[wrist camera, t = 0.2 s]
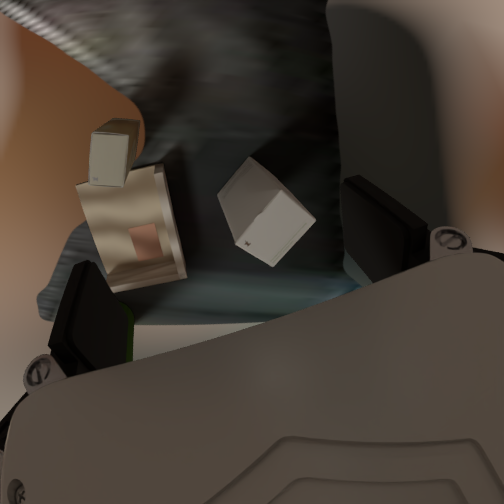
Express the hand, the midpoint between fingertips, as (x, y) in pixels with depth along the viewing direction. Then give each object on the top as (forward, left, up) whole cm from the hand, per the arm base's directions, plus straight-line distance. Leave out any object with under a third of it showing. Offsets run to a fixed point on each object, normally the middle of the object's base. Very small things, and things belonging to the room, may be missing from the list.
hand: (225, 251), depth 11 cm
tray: (+16, -11, -36) cm, 41 cm away
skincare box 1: (+2, -9, -36) cm, 37 cm away
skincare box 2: (+13, +8, -36) cm, 39 cm away
